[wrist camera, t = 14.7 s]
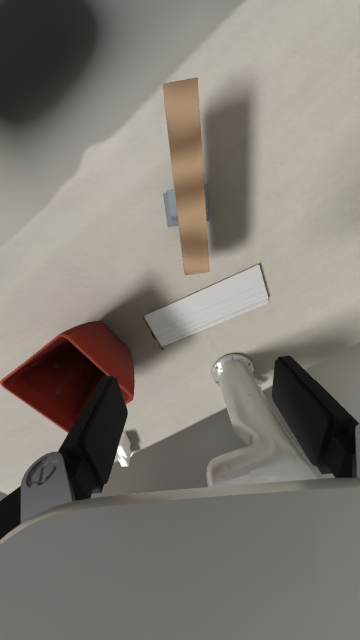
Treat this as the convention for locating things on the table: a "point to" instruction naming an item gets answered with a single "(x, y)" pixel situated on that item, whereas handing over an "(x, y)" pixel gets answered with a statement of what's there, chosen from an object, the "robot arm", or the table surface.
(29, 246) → the table surface
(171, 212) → the slate ridge
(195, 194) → the walnut rod
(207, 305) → the baseboard molding
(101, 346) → the plant pot
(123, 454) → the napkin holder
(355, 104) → the table surface
